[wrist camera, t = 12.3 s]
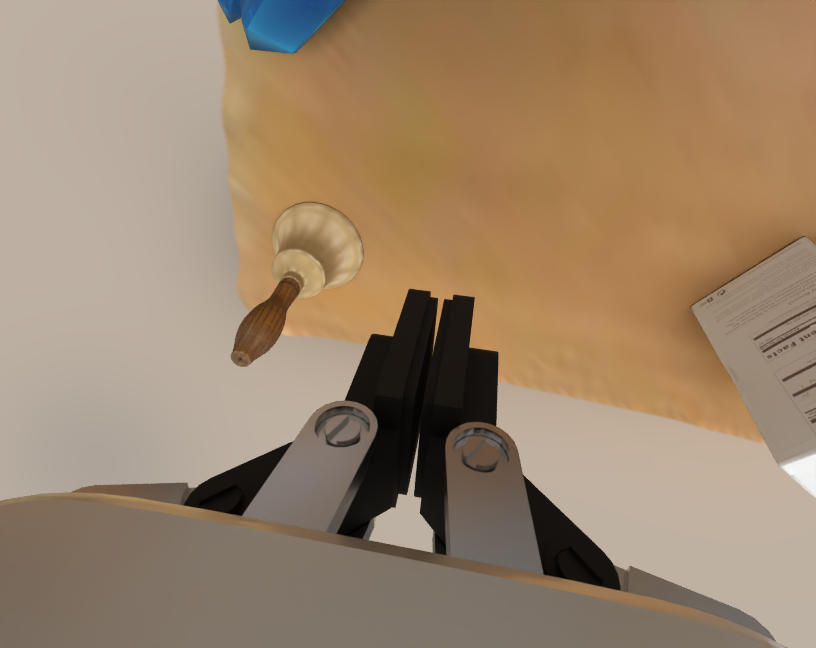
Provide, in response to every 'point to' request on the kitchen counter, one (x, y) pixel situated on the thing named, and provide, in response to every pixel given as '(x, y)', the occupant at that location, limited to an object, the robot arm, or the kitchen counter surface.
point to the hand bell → (300, 271)
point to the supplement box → (772, 351)
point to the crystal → (279, 21)
